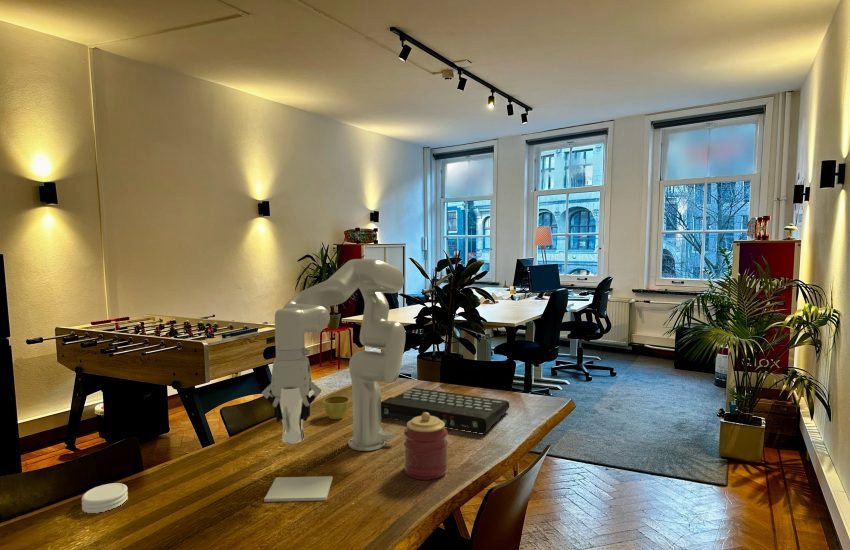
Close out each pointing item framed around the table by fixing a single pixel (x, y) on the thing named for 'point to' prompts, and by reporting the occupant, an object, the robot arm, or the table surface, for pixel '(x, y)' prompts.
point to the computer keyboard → (446, 409)
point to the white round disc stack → (104, 498)
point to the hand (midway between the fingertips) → (292, 419)
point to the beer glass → (291, 415)
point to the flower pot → (336, 406)
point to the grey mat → (299, 489)
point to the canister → (425, 448)
